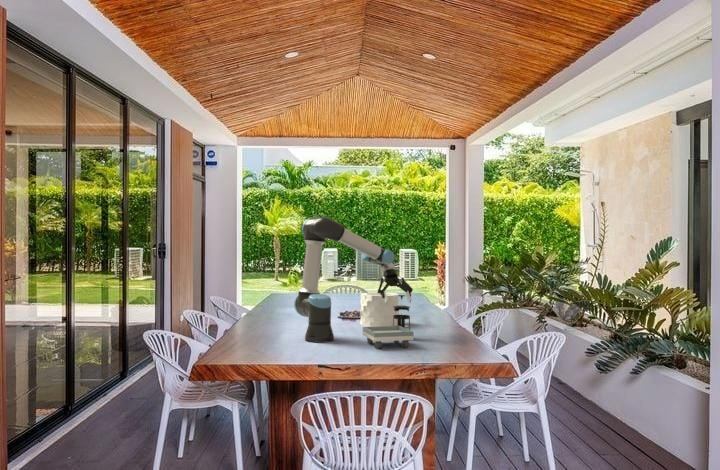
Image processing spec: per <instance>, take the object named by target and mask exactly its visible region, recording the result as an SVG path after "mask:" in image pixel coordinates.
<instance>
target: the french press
mask: <svg viewBox="0 0 720 470" xmlns="http://www.w3.org/2000/svg"><path fill="white" fill-rule="evenodd" d="M398 297H400V301H401V303H400V305H398V306H393V307H394V311H398V310H399V311H401V313H400V314H399V315H393V326H394V319H398V320H397V325H395V326H402V327H404V328H406V329H408V330H411V316H410V314H409V315H408V314H403V311H407V312H410V308H411V307H410V306H408V305H403V299H404V298H403V297H406V295H404V294H398ZM406 320H408V325H407V324H406Z"/></svg>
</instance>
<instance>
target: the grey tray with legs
mask: <svg viewBox="0 0 720 470" xmlns="http://www.w3.org/2000/svg"><path fill="white" fill-rule="evenodd" d="M362 335H363V336H364V337H366V341H367V342H366V343H367V344H368V345H369V344H374V346H375V349H377V350H378V349H382V342H391V341H392V342H393V343H399V342H400V341H401V342H402V343H401V346H402V347H403V348H409V345H410V342H409V341H413V340H414V331H413V330H411V329H410V330H409V328H404V327H402V326H377V327H367V326H363V327H362Z"/></svg>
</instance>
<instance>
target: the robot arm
mask: <svg viewBox="0 0 720 470" xmlns="http://www.w3.org/2000/svg"><path fill="white" fill-rule="evenodd" d="M301 230H302V231H301V232H302V234H303V236H304V237H303V239H304V240H303V241H304V243H305V244H306V246H305V247H306V248H305V256H304V265H303V272H302V273H303V275H302V283H301V284H302V286H301V288H299V290H298V293H297V294H298V295H297V296H296V297H295V299H294V302H293V303H294V304H293V307H294V309H295V311H296V313H297V314H298V315H300V316H301V317H302V316H303V317H306V318H308V326H307V328H306V332H305V335H304V340H305V342H309V343H328V342H329V343H330V342H333V341H335V334H334V331H333V328H332V324H331V323H332V299H331V297H330V296H329V295H327V294H321V292H320V290H318V289H319V279H320V271H321V260H322V252H323V245H324V244H326V240H330V241H333V242H335V243H338V242H340V243H342V244H343V245H345V246H347V247H349V248H351V249H354V250H355V251H358V252H360V253H361V259H362V260H363V261H365V262H367V263H371V264H375V265H379V266H380V268H381V270H382V274H383V277H381V278H380V280H379V287H378V289H377V293H381V295H382V298H384V300H385V304H387V302H388V299H387V296H386V293H387V292H386V290H387V289H388V288H389V286H390V287H397V288H399V289H401V290H402V291H403V292H404V293H405V294H406V295H405V297H406V298H407V302H408V304H411V301H412V298H411V297H412V293H413V290H414V288H413V287H412V286H411V285H410V284H409V283H408V282H407V281H406V280H405V278H404V277H401V278H399V276H398V272H397V268H396V266H395V264H394V261H395V254H394V252H393V251H392V250H389V249H385V248H383V247H381V246H379V245H377V244H376V243H373V242H371V241H370V240H367V239H365V238H363V237H361V236H360V235H358V234H356V233H354V232H353V231H351V230H349V229H347V228H346V227H345V226H344V225H343V224H341V223H339V222H337V221H336V220H334V219H332V218H330V217H327V216H311V217H308V218H307V219H306V220H304V221H303V224H302V227H301ZM384 283H385V286H383V284H384ZM382 287H383V288H382Z"/></svg>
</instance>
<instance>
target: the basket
mask: <svg viewBox="0 0 720 470" xmlns="http://www.w3.org/2000/svg"><path fill="white" fill-rule="evenodd" d="M377 292H378V291H377ZM377 292H375V291H374V292H362V293H360V310H359V312H360V313H359V314H360V321H359V324H360V325H361V326H363V327H367V326H368V327H377V326H393V315H400V310H398V311H394V307H393V306H400V305H399V304H400V302H399V301H400V299H399V296H398V295H399V293H395V292H386V296H387V299H388V302H387V304H385V300H384V298H382V295H381V293H377ZM397 320H398V319H394V326H395V325H397Z"/></svg>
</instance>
